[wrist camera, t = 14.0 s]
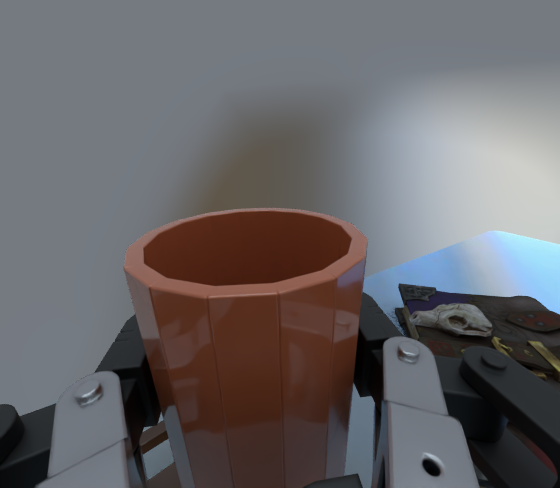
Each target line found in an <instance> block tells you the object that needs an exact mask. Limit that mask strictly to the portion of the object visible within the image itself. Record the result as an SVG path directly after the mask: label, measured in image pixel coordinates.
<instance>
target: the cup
mask: <svg viewBox="0 0 560 488" xmlns="http://www.w3.org/2000/svg"><path fill="white" fill-rule="evenodd" d="M367 244H368V239H367V237H366V236H364V234H363V233H361V232H360V231H359V230H358V229H357V228H356V227H355V226H354V225H353V224H351V223H348V222H346V221H343V220H341V219H338V218H336V217H333V216H330V215H327V214H322V213H316V212H311V211H305V210H299V209H283V208H250V209H234V210H226V211H219V212H212V213H206V214H201V215H197V216H193V217H189V218H185V219H181V220H177V221H174V222H171V223H169V224H166V225H164V226H162V227H159V228H157V229H154V230H152V231H150V232H147V233H145V235H143V236H142V237H140V238H139V239H138V240H137V241H136V242H134V243H133V244H132V245H131V246H129V247H128V248H127V249H126V254H125V262H124V272H125V276H126V280H127V284H128V287H129V291H130V295H131V299H132V303H133V306H134V310H135V314H136V318H137V321H138V325H139V329H140V333H141V336H142V340H143V344H144V348H145V351H146V355H147V359H148V363H149V367H150V370H151V374H152V378H153V382H154V385H155V389H156V393H157V397H158V400H159V404H160V408H161V412H162V415H163V419H164V423H165V427H166V431H167V434H168V438H169V442H170V446H171V449H172V453H173V457H174V461H175V464H176V468H177V472H178V476H179V479H180V483H181V487H182V488H303V487H305V486H306V485H308V484H310V483H312V482H314V481H318V480H324V479H330V478H335V477H341V476H344V472H345V462H346V452H347V442H348V432H349V422H350V412H351V402H352V392H353V383H354V373H355V363H356V353H357V343H358V333H359V323H360V313H361V303H362V293H363V283H364V272H365V263H366V254H367Z"/></svg>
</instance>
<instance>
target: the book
mask: <svg viewBox="0 0 560 488" xmlns="http://www.w3.org/2000/svg"><path fill="white" fill-rule="evenodd" d="M398 288H399V291H400V294H401V297H402V300H403V303H404V308H395V313H396V315H397V318H398V320H399V323H400V325H402V326H403V328H404V331H405V333H406V336H407V337H408V338H411V339H414V340H417V341H419V342H420V343H422V344H424V345H425V346H426V347H427V348H429V350H430V351H431V352H432V354H433V355H437V356H444V357H451V358H459V359H462V357H463V353H464V350H465V349H466V348H468V347H470V346H484V347H489V348H492V349H495V350H498V351H500V352H502V353H504V354H506V355H508V356H509V357H511V358H512V359H514V360H515V361H517V362H518V363H519V364H521V365H522V366H524V367H525V368H527V369H528V370H529V371H531V372H532V373H534V374H535V375H536V376H538V377H539V378H541V379H542V380H543V381H545V382H546V383H548V384H549V385H551V386H552V387H553V388H555V389H556V390H558V391H559V392H560V315H559V314H557V313H555V312H552V311H549V310H548V309H547V308H546V307H545V306H543V305H542V304H541V303H540V302H539V301H537V300H536V299H534V298H531V297H529V296H514V297H498V296H485V295H472V294H459V293H447V292H441V291H436V288H434V287H425V286H416V285H408V284H399V287H398ZM506 428H507V429H508V430H509V431H510V432H511V433H512V434H513V435H514V436H515V437H517V438H518V439H519V440H520V441H521V442H522V443H523V444H524V445H525V446H526V447H527V448H528V449H529V450H530V451H531V452H532V453H533V454H534V455H535V456H537V457H538V458H539V459H540V460H541V461H542V462H543V463H544V464H545V465H546V466H547V467H548V468H549V469H550V470H551V471H552V472H553V473H554V474H555V475H556V476H557V471H556V469H555V467H554V465H553V463H552V462H551V460H550V459H549V458H548V456H547V455H546V454H545V453H544V452H543V451H542V450H541V449H540V448H538V447H537V446H536V445H535V444H534V443H533V442H532V441H531V440H530V439H529V438H528V437H527V436H525V435H524V434H523V433H522V432H521V431H520V430H519V429H518V428H517V427H516V426H515V425H513V424H512V423H511V422H510V421H509V420H508V422H507V425H506ZM472 463H473V462H472ZM473 467H474V470H475V474H476V477H477V481H478V484H479V488H494V487H493V486H492V484H491V483H490V482H489V481H488V480H487V478H486V477H485V476H484V475H483V474H482V472H481V471H480V470H479V469H478V468H477V466H476V465H475V464H474V463H473Z"/></svg>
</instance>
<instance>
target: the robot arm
mask: <svg viewBox="0 0 560 488" xmlns="http://www.w3.org/2000/svg"><path fill="white" fill-rule="evenodd" d="M354 384H355V387H356V389H357V391H358V393H359V395H360V397H366V396H372V398H373V400H374V402H375V407H374V430H373V473H372V486H371V488H479V484H478V481H477V477H476V474H475V470H474V467H473V463H474V464H475V465H476V466H477V468H478V469H479V470H480V471H481V472H482V474H483V475H484V476H485V477H486V478H487V480H488V481H489V482H490V483H491V484H492V486H493V487H494V488H560V392H559V391H558V390H556V389H555V388H553V387H552V386H551V385H549V384H548V383H546V382H545V381H543V380H542V379H541V378H539V377H538V376H536V375H535V374H534V373H532V372H531V371H529V370H528V369H527V368H525V367H524V366H522V365H521V364H519V363H518V362H517V361H515V360H514V359H512V358H511V357H509V356H508V355H506V354H504V353H502V352H500V351H498V350H495V349H492V348H489V347H484V346H470V347H468V348H466V349H465V350H464V353H463V357H462V359H459V358H451V357H444V356H437V355H433V354H432V352H431V351H430V350H429V348H427V347H426V346H425V345H424V344H422V343H420V342H419V341H417V340H414V339H411V338H408V337H404V336H403V335H402V334H401V333H400V332H399V330H398V329H397V328H396V327H395V325H394V324H393V323H392V322H391V321H390V319H389V318H388V317H387V316H386V314H384V313H383V311H382V309H381V308H380V307H378V305H377V303H376V302H375V301H374V300H373V298H372V297H370V296H369V295H367V294H366V293H364V292H363V293H362V303H361V313H360V323H359V333H358V343H357V353H356V363H355V373H354ZM160 414H161V408H160V404H159V400H158V397H157V393H156V389H155V385H154V382H153V378H152V374H151V370H150V367H149V363H148V359H147V355H146V351H145V348H144V344H143V340H142V336H141V333H140V329H139V325H138V321H137V318H136V314H135V315H134V316H132V317H131V318H130V319H129V320H127V322H126V323H125V325H124V326H123V328H122V329H121V331H120V333H119V334H118V336H117V338H116V339H115V342H113V344H112V345H111V347H110V349H109V350H108V352H107V353H106V355H105V357H104V358H103V360H102V361H101V363H100V365H99V366H98V368H97V369H96V371H95V372H94V373H93V374H90V375H87V376H85V377H83V378H81V379H80V380H78V381H76V382H75V383H73V384H72V385H71V386H69V387H68V388H67V389H66V390H65V391H64V392H63V394H62V395H61V396H60V397H59V399H58V401H57V403H56V404H53V405H50V406H48V407H45V408H42V409H39V410H36V411H34V412H31V413H28V414H25V415H22V416H19V415H18V413H17V411H16V410H15V408H14V407H13V406H12V405H8V404H1V405H0V488H149V485H148V480H147V474H146V469H145V464H144V458H143V453H142V447H141V444H140V441H139V440H140V437H141V434H142V432H143V429H144V427H149V426H156V425H157V424H158V421H159V417H160ZM508 420H509V421H510V422H511V423H512V424H513V425H515V426H516V427H517V428H518V429H519V430H520V431H521V432H522V433H523V434H524V435H525V436H527V437H528V438H529V439H530V440H531V441H532V442H533V443H534V444H535V445H536V446H537V447H538V448H540V449H541V450H542V451H543V452H544V453H545V454H546V455H547V456H548V458H549V459H550V460H551V462H552V463H553V465H554V467H555V469H556V471H557V476H556V475H555V474H554V473H553V472H552V471H551V470H550V469H549V468H548V467H547V466H546V465H545V464H544V463H543V462H542V461H541V460H540V459H539V458H538V457H537V456H535V455H534V454H533V453H532V452H531V451H530V450H529V449H528V448H527V447H526V446H525V445H524V444H523V443H522V442H521V441H520V440H519V439H518V438H517V437H515V436H514V435H513V434H512V433H511V432H510V431H509V430H508V429H507V428H506V425H507V422H508ZM472 462H473V463H472ZM303 488H363V487H362V484H361V481H360V479H359V476H358V474H353V475H347V476H341V477H335V478H330V479H324V480H318V481H314V482H312V483H310V484H308V485H306V486H305V487H303Z"/></svg>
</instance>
